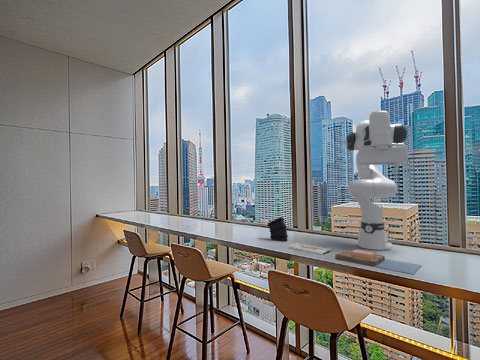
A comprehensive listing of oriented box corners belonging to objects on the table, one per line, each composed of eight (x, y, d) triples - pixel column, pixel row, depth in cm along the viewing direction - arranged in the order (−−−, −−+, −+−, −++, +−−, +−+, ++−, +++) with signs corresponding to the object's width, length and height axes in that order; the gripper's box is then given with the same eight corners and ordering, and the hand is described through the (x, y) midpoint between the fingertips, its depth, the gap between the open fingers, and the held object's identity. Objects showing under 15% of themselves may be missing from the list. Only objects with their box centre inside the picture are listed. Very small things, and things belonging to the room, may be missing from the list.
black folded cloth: (289, 239, 168) (280, 217, 172) (273, 246, 175) (264, 224, 179) (292, 238, 171) (283, 216, 175) (276, 245, 178) (267, 223, 182)
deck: (346, 253, 140) (346, 249, 140) (384, 260, 128) (384, 255, 128) (335, 258, 130) (335, 254, 130) (375, 266, 117) (375, 261, 117)
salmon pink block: (351, 255, 128) (351, 251, 128) (355, 253, 132) (355, 249, 132) (371, 259, 121) (371, 255, 121) (375, 256, 126) (375, 252, 126)
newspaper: (333, 252, 146) (333, 247, 146) (322, 258, 137) (322, 253, 137) (298, 245, 162) (297, 241, 162) (286, 250, 154) (285, 246, 153)
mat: (386, 259, 128) (386, 259, 128) (421, 265, 118) (421, 265, 118) (375, 267, 116) (375, 266, 116) (413, 274, 107) (413, 273, 107)
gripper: (405, 145, 121) (407, 175, 118) (355, 147, 127) (356, 175, 124) (409, 140, 115) (411, 171, 112) (357, 142, 121) (358, 172, 118)
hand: (382, 173), depth 118 cm, fingers open, 8 cm apart
